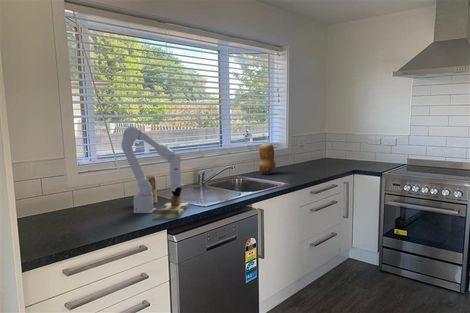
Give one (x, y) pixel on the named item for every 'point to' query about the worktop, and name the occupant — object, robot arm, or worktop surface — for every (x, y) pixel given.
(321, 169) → the worktop surface
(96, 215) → the worktop surface
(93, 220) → the worktop surface
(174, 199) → the walnut block
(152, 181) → the candy box
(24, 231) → the worktop surface
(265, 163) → the butternut squash
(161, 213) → the trap runway
